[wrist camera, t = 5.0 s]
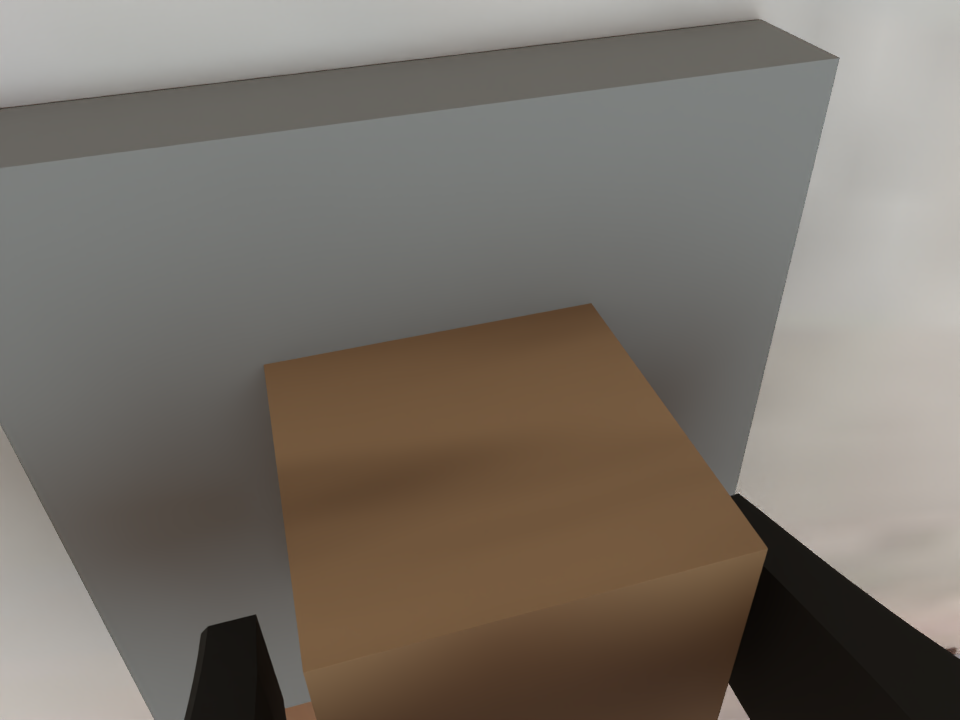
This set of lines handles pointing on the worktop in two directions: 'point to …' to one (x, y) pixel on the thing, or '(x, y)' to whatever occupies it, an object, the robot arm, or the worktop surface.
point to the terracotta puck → (301, 712)
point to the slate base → (368, 278)
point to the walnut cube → (504, 530)
